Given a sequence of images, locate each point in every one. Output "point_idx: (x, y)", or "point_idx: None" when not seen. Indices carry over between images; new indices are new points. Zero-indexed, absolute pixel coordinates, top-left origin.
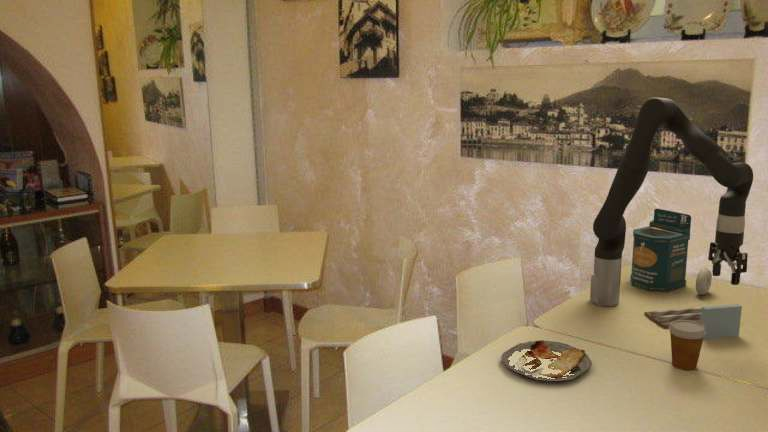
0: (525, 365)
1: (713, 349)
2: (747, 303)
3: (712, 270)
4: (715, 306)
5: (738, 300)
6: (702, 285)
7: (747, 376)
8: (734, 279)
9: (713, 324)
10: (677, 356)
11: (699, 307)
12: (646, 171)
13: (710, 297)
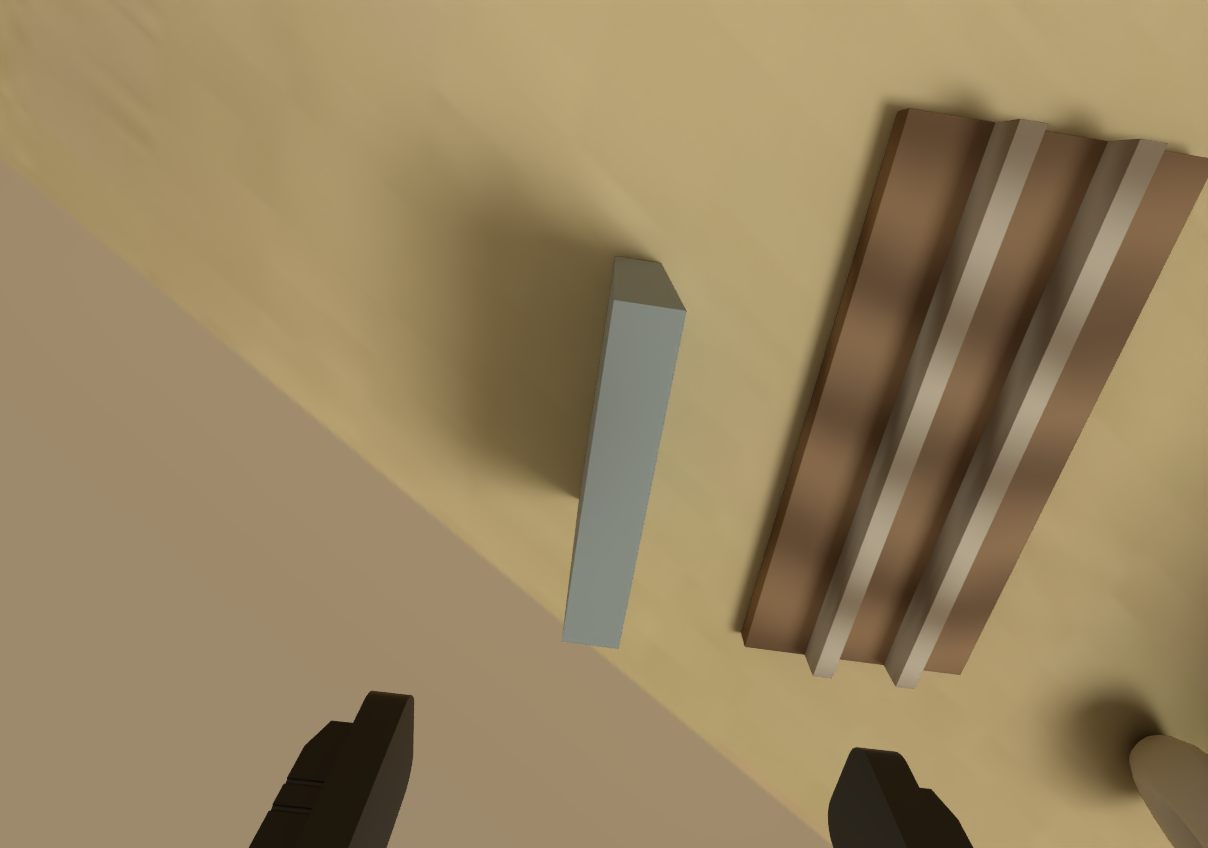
0: None
1: (450, 192)
2: None
3: (969, 843)
4: (641, 445)
5: None
6: (1184, 791)
7: (15, 75)
8: (313, 793)
9: (602, 352)
10: None
11: (972, 561)
12: None
13: (1084, 756)
